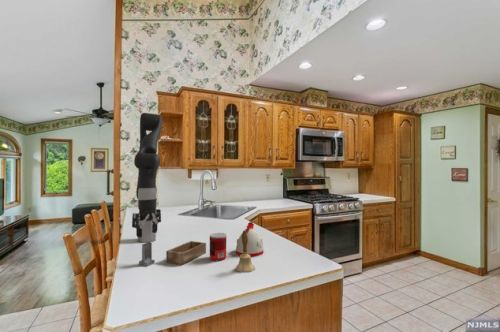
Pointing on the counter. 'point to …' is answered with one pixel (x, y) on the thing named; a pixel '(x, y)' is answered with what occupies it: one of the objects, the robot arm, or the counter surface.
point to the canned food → (217, 246)
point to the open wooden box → (185, 252)
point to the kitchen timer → (250, 242)
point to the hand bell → (245, 257)
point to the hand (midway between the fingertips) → (147, 234)
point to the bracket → (147, 255)
